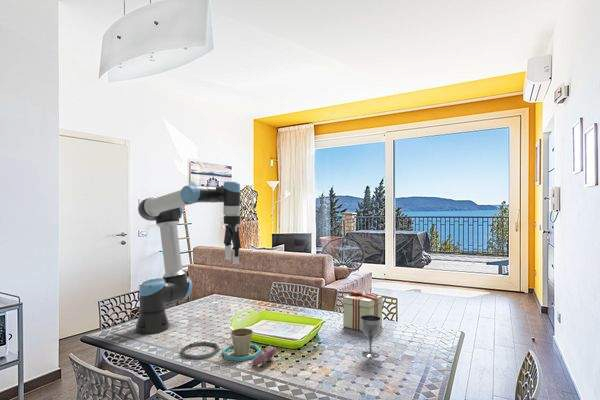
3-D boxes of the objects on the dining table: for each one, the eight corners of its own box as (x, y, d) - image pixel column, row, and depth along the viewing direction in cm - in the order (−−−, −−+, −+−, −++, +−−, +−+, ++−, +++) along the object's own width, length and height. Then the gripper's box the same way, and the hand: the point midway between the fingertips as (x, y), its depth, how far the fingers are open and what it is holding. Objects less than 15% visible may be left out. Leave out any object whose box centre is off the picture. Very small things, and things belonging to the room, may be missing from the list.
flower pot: (248, 359, 147) (248, 337, 147) (226, 356, 149) (226, 335, 149) (256, 349, 156) (256, 329, 156) (235, 347, 158) (235, 327, 158)
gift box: (385, 323, 190) (385, 289, 190) (371, 334, 175) (371, 297, 175) (354, 317, 199) (354, 285, 199) (339, 327, 184) (339, 292, 184)
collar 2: (219, 349, 156) (219, 346, 156) (253, 343, 162) (253, 341, 162) (228, 363, 143) (228, 360, 143) (264, 356, 149) (264, 353, 149)
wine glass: (368, 360, 146) (368, 322, 146) (356, 352, 153) (356, 316, 153) (384, 356, 150) (384, 319, 150) (372, 349, 157) (372, 313, 157)
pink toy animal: (259, 371, 139) (265, 357, 138) (250, 364, 141) (257, 349, 140) (273, 362, 148) (280, 347, 146) (265, 354, 150) (271, 340, 148)
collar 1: (179, 348, 158) (179, 345, 158) (214, 342, 164) (214, 339, 164) (184, 361, 144) (184, 358, 144) (222, 354, 151) (222, 351, 151)
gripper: (248, 216, 161) (248, 265, 161) (232, 214, 183) (232, 257, 183) (231, 216, 157) (231, 266, 157) (217, 214, 180) (217, 258, 180)
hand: (231, 261), depth 170 cm, fingers open, 13 cm apart
